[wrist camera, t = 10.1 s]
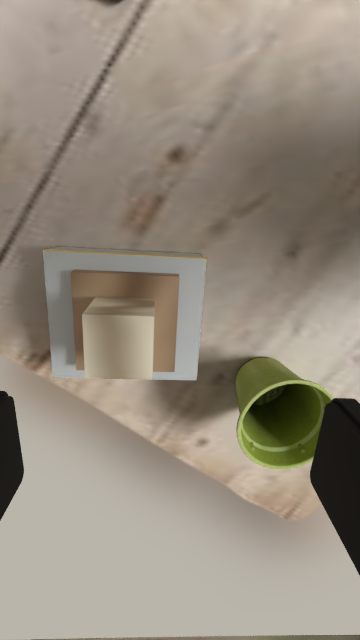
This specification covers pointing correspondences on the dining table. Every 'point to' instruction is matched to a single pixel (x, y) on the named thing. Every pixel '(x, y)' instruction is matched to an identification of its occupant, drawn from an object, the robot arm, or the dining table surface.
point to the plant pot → (278, 414)
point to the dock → (70, 258)
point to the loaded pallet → (130, 288)
